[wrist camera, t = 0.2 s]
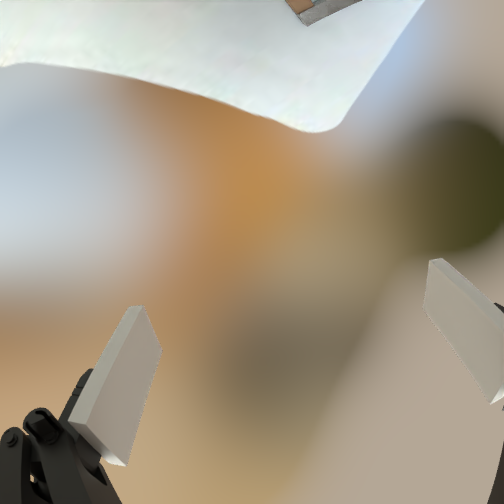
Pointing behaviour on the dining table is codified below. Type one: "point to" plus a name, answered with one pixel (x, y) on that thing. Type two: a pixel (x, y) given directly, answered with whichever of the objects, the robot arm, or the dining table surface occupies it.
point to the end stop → (323, 10)
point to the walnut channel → (299, 5)
